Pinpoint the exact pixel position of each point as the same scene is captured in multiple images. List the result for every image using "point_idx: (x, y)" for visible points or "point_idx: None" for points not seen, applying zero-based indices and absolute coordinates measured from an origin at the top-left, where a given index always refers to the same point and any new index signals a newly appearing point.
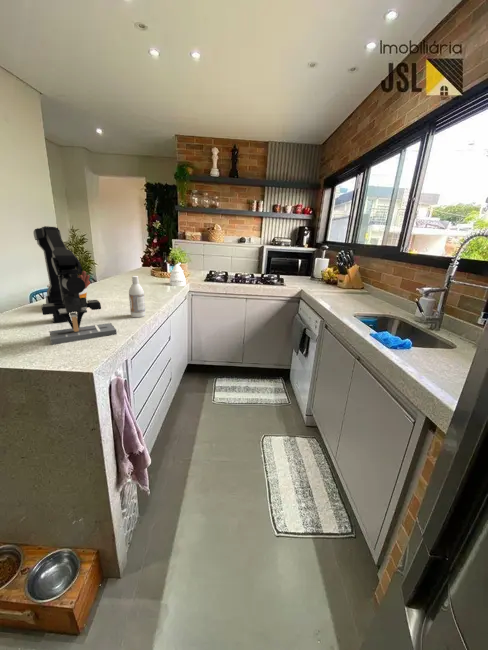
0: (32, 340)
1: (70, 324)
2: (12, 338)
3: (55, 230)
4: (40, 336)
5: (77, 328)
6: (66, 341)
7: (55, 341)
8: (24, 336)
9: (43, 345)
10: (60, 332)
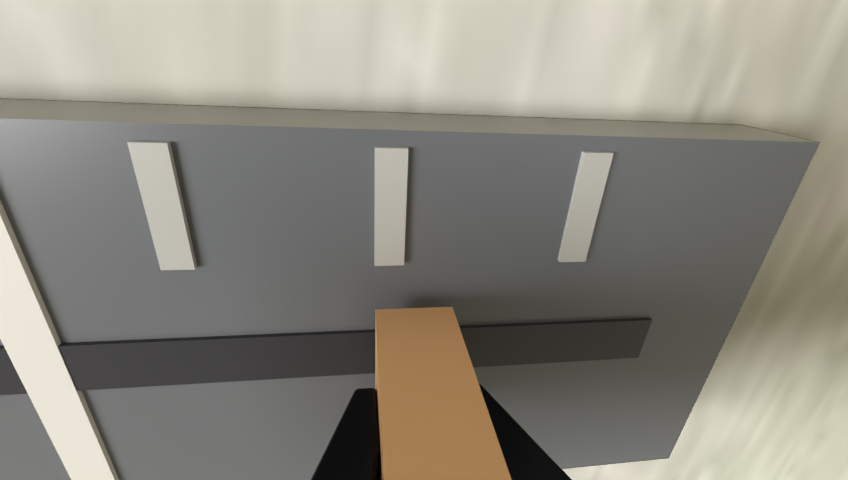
0: (785, 355)
1: (535, 450)
2: (844, 447)
3: None
4: (693, 425)
5: (396, 348)
6: (577, 121)
7: (725, 133)
8: (772, 460)
9: None
10: (594, 385)
